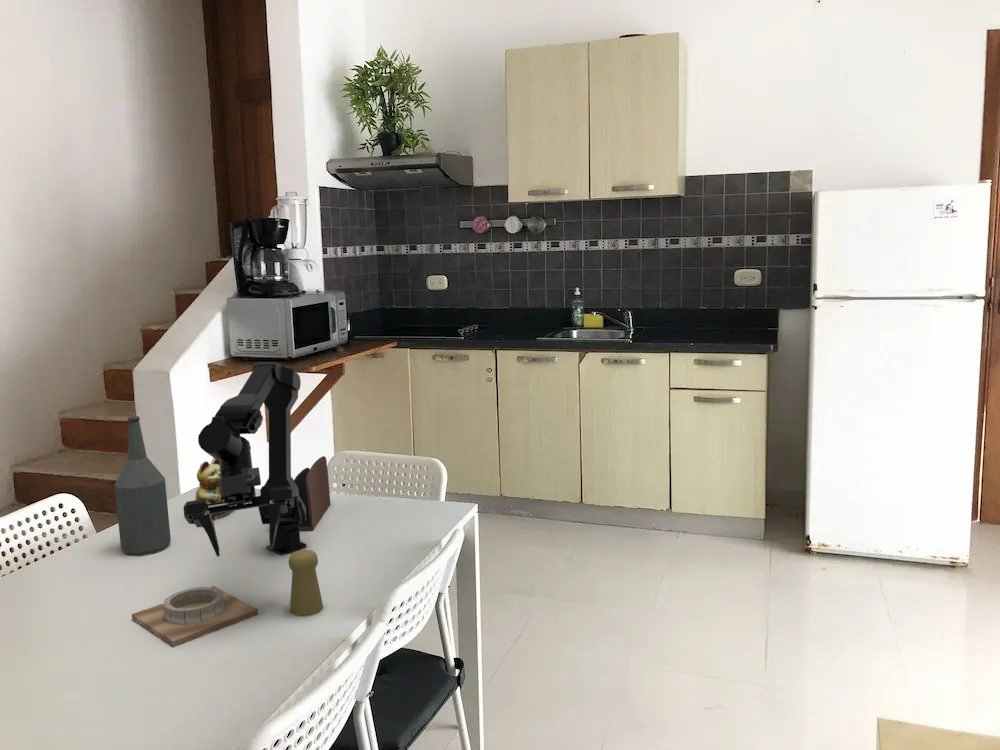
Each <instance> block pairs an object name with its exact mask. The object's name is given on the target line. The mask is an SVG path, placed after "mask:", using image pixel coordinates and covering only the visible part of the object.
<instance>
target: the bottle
mask: <svg viewBox="0 0 1000 750" xmlns="http://www.w3.org/2000/svg"><path fill="white" fill-rule="evenodd" d="M140 419H141V418H140V416H137V415H133V416H129V417H128V418H127V419H126V420H127V421H128V446H127V447H128V448H127V449H128V451H127V453H128V458H127V460H126V462H125V465H124V466H123V468H122V471H121V472H120V474H119V476H118V478H117V480H116V481H115V484H114V493H115V504H116V513H117V524H118V531H119V541H120V549H121V550H122V552H124V553H125V554H127V555H128V554H129V555H128V556H145V554H146V555H151V554H150V553H152V554H155V553H159V552H162V551H163V550H165V549H166V548H168V547H169V546H170V544H171V540H172V538H171V537H172V536H171V528H170V527H171V526H170V515H169V508H168V505H169V504H168V498H167V497H168V495H167V488H166V487H167V485H166V477H165V476H164V475H163V474H162V473H161V472H160V470H159V469H158V468H157V467H156V465H154V463H153V462H152V461H151V460H150V458H149V457H148V455H147V451H146V447H145V443H144V442H145V441H144V438H143V433H142V428H141V423H140ZM161 550H162V551H161ZM158 551H159V552H158Z"/></svg>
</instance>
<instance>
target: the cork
mask: <svg viewBox="0 0 1000 750" xmlns="http://www.w3.org/2000/svg"><path fill="white" fill-rule="evenodd" d="M318 563H319V557H318V554H317V553H316V552H315V551H314V550H311V549H298V550H295V551H293V552H292V553H291V554H290V556H289V557H288V565H289V566H288V567H289V569H290V570H291V571H292V575H291V588H290V589H291V591H290V602H289V603H290V604H289V605H290V606H289V613H290V615H292V614H293V616H295V617H308V616H314V615H316V614H318V613H320V612H322V611H323V609H324V604H323V600H322V599H323V598H322V595H321V589H320V585H319V584H320V583H319V580H318V575H317V572H316V569H317V566H318V565H319V564H318ZM321 610H322V611H321Z"/></svg>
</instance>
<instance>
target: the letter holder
mask: <svg viewBox="0 0 1000 750" xmlns="http://www.w3.org/2000/svg"><path fill="white" fill-rule="evenodd" d="M328 472H329V470H328V463H327V457H326V456H324V455H323V456H321V457H319V458H318V459H316V461H314V463H313V464H312V465H311V467H305V468H304V469H302V470H301V471H300V472H299V473H298V474H297V475H296V476H295V478H293V477H292V479H293V480H294V482H295V484H296V485H297V487H298V489H299V497H300V498H301V500H302V501H303V503H304V505H305V507H306V521H304V522H301V524H299V531H300V532H313V531H314V530H315V528H316V526H317V525H318V523H319V522H320V521H321V520H322V518H323V517H324V516H325V515H324V514H325V513H326V512H327V511H328V509H329V507H330V506H331V504H332V502H331V496H330V495H331V494H330V485H329V484H330V483H329V473H328Z"/></svg>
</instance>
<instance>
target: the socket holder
mask: <svg viewBox="0 0 1000 750" xmlns="http://www.w3.org/2000/svg"><path fill="white" fill-rule="evenodd" d="M258 615H259V609H258V608H257V607H256V606H255V607H254V606H253V605H251V604H250V603H249V604H248V603H247V602H245V601H244V600H241V599H239V598H237V597H235V596H233V594H230V593H228V592H227V591H224V590H222V589H220V588H219V587H216V586H215V585H212V586H209V587H208V586H198V587H191V588H186V589H183V590H180V591H177V592H175V593H172V594H171V595H170V596H168V597H167V598H165V599H164V601H163V603H161V604H158V605H154V606H152V607H148V608H146V609H142V610H140V611H137V612H134V613H131V620H132V619H133V622H135V621H136V622H135V623H137V624H138V623H139V625H140V626H141V625H142V628H144V627H145V628H144V629H146V628H147V629H148V630H147V629H146V630H147V631H149V630H150V631H151V633H152V632H153V633H154V634H153V633H152V634H153V635H155V636H156V635H157V636H156V637H158V638H159V637H160V639H161V640H162V639H163V640H162V641H164V642H165V641H166V643H167V644H168V645H169V646H171V647H177V646H179V645H181V644H184V643H186V642H190V641H192V640H194V639H197V638H200V637H202V636H205V635H207V633H208V634H211V633H213V632H216V631H218V630H221V629H223V628H226V627H228V626H231V625H235V624H236V623H239V622H241V621H245V620H247V619H249V618H251V617H255V616H258ZM220 628H221V629H220ZM215 630H216V631H215ZM150 631H149V632H150ZM210 632H211V633H210ZM204 634H205V635H204Z"/></svg>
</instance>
